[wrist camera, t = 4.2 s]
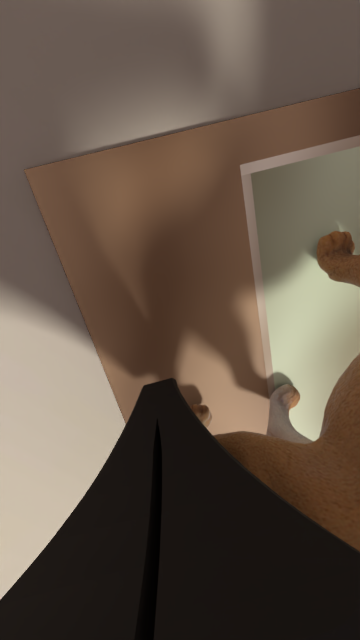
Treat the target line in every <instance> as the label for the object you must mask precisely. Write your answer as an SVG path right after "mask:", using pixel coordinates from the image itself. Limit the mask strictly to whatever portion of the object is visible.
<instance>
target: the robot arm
mask: <svg viewBox="0 0 360 640" xmlns="http://www.w3.org/2000/svg"><path fill="white" fill-rule="evenodd" d="M0 640H360V552H359V551H358V550H357V549H355V548H354V547H352V546H351V545H349V544H348V543H346V542H345V541H343V540H341V539H340V538H338V537H337V536H335V535H334V534H332V533H331V532H329V531H328V530H327V529H325V528H324V527H322V526H321V525H319V524H318V523H316V522H315V521H314V520H312V519H311V518H309V517H308V516H306V515H305V514H304V513H302V512H301V511H300V510H298V509H297V508H296V507H294V506H293V505H291V504H290V503H289V502H287V501H286V500H285V499H283V498H282V497H281V496H279V495H278V494H277V493H276V492H275V491H273V490H272V489H271V488H270V487H268V486H267V485H266V484H265V483H264V482H262V481H261V480H260V479H259V478H257V477H256V476H255V475H254V474H253V473H251V472H250V471H249V470H248V469H247V468H245V467H244V466H243V465H242V464H241V463H240V462H239V461H238V460H237V459H236V458H235V457H234V456H232V455H231V454H230V453H229V452H228V451H227V450H226V449H225V448H224V447H223V446H222V445H221V444H220V443H219V442H218V440H217V439H216V438H215V437H214V436H213V435H212V434H211V433H210V432H209V431H208V429H207V428H206V427H205V426H204V425H203V424H202V422H201V421H200V420H199V419H198V417H197V416H196V415H195V413H194V412H193V410H192V409H191V408H190V406H189V405H188V403H187V402H186V400H185V399H184V397H183V395H182V394H181V392H180V390H179V388H178V385H177V382H176V380H175V379H174V378H169V379H165V380H162V381H158V382H154V383H151V384H147V385H144V386H143V387H142V389H141V392H140V394H139V397H138V399H137V401H136V404H135V406H134V408H133V411H132V413H131V415H130V417H129V419H128V421H127V423H126V425H125V428H124V430H123V432H122V434H121V436H120V438H119V439H118V441H117V443H116V445H115V447H114V448H113V450H112V452H111V454H110V456H109V457H108V459H107V461H106V463H105V464H104V466H103V468H102V469H101V471H100V472H99V474H98V476H97V477H96V479H95V480H94V482H93V483H92V485H91V486H90V488H89V489H88V491H87V492H86V494H85V495H84V497H83V498H82V500H81V501H80V502H79V504H78V505H77V507H76V508H75V509H74V511H73V512H72V513H71V515H70V516H69V517H68V519H67V520H66V521H65V523H64V524H63V525H62V527H61V528H60V529H59V531H58V532H57V533H56V535H55V536H54V537H53V538H52V540H51V541H50V542H49V543H48V545H47V546H46V547H45V548H44V550H43V551H42V552H41V553H40V554H39V556H38V557H37V558H36V559H35V560H34V562H33V563H32V564H31V565H30V566H29V568H28V569H27V570H26V571H25V572H24V573H23V575H22V576H21V577H20V578H19V579H18V580H17V582H16V583H15V584H14V585H13V586H12V587H11V588H10V590H9V591H8V592H7V593H6V594H5V595H4V596H3V598H2V599H1V600H0Z"/></svg>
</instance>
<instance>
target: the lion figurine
mask: <svg viewBox="0 0 360 640" xmlns="http://www.w3.org/2000/svg"><path fill="white" fill-rule="evenodd" d="M354 249H355V244H354V242H353V241H352V236H351V234H350V233H349V232H346V231H344V232H339V231H333V232H331V233H330V234H328V235H325V236H323V237H321V238H320V239H319V241H318V245H317V252H316V253H317V262H318V265H319V267H320V268H321V269H322V270H323V271H324V272H326V273H327V274H328V276H329V278H330V279H331V280H333V281H337V282H344V283H348V284H352V285H355V286H358V287H360V255H353V252H354ZM299 400H300V393H299V392H298V390H297V389H296V388H295V387H294V386H292V385H290V384H285V385H282V386H280V387H279V388H277V389H276V390H275V391H274V392H273V393H272V395H271V397H270V408H269V419H268V427H267V432H266V435H264V434H260V433H255V432H248V431H237V432H230V433H225V434H216V435H213V436H214V437H215V438H216V439H217V440H218V442H219V443H220V444H221V445H222V446H223V447H224V448H225V449H226V450H227V451H228V452H229V453H230V454H231V455H232V456H234V457H235V458H236V459H237V460H238V461H239V462H240V463H241V464H242V465H243V466H244V467H245V468H247V469H248V470H249V471H250V472H251V473H253V474H254V475H255V476H256V477H257V478H259V479H260V480H261V481H262V482H264V483H265V484H266V485H267V486H268V487H270V488H271V489H272V490H273V491H275V492H276V493H277V494H278V495H279V496H281V497H282V498H283V499H285V500H286V501H287V502H289V503H290V504H291V505H293V506H294V507H296V508H297V509H298V510H300V511H301V512H302V513H304V514H305V515H306V516H308V517H309V518H311V519H312V520H314V521H315V522H316V523H318V524H319V525H321V526H322V527H324V528H325V529H327V530H328V531H329V532H331V533H332V534H334V535H335V536H337V537H338V538H340V539H341V540H343V541H345V542H346V543H348V544H349V545H351V546H352V547H354V548H355V549H357V550H358V551H359V552H360V354H359V355H358V356H357V357H356V358H355V359H354V360H353V361H352V362H351V363H350V365H349V366H348V367H347V369H346V370H345V371H344V373H343V374H342V375H341V376H340V378H339V379H338V381H337V383H336V384H335V386H334V388H333V390H332V392H331V395H330V397H329V399H328V401H327V404H326V407H325V411H324V418H323V422H322V427H321V432H320V435H319V438H318V439H317V440H316V441H312V440H310V439H308V438H307V437H305V436H303V435H302V434H300V433H299V432H297V431H296V430H295V428H294V427H293V426H292V424H291V422H290V419H289V411H290V409H291V408H293V407H295V406H296V405H297V404H298V402H299ZM190 408H191V409H192V410H193V412H194V413H195V415H196V416H197V417H198V419H199V420H200V421H201V422H202V424H203V425H204V426H205V427H206V428H208V426H209V425H210V423H211V421H212V415H211V413H210V410H209V408H208V407H207V406H206V405H200V404H194V405H191V406H190Z"/></svg>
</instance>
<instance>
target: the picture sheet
mask: <svg viewBox="0 0 360 640" xmlns="http://www.w3.org/2000/svg"><path fill="white" fill-rule="evenodd" d="M24 171H25V174H26V176H27V179H28V181H29V184H30V186H31V189H32V191H33V194H34V196H35V199H36V201H37V204H38V206H39V209H40V211H41V214H42V216H43V219H44V221H45V224H46V226H47V229H48V231H49V234H50V236H51V239H52V241H53V244H54V246H55V249H56V251H57V253H58V256H59V258H60V261H61V263H62V266H63V268H64V271H65V273H66V276H67V278H68V281H69V283H70V286H71V288H72V291H73V293H74V296H75V298H76V301H77V303H78V306H79V308H80V311H81V313H82V316H83V318H84V321H85V323H86V326H87V328H88V331H89V333H90V336H91V338H92V341H93V343H94V346H95V348H96V351H97V353H98V355H99V358H100V360H101V363H102V365H103V368H104V370H105V373H106V375H107V378H108V380H109V383H110V385H111V388H112V390H113V393H114V395H115V398H116V400H117V403H118V405H119V408H120V410H121V413H122V415H123V418H124V420H125V423H127V421H128V419H129V417H130V415H131V413H132V411H133V408H134V406H135V404H136V401H137V399H138V397H139V394H140V392H141V389H142V387H143V386H144V385H147V384H151V383H154V382H158V381H162V380H165V379H169V378H174V379H175V380H176V382H177V385H178V388H179V390H180V392H181V394H182V395H183V397H184V399H185V400H186V402H187V403H188V405H189V406H191V405H194V404H200V405H206V406H207V407H208V408H209V410H210V413H211V415H212V421H211V423H210V425H209V426H208V428H207V429H208V431H209V432H210V433H211V434H212V435H216V434H225V433H230V432H237V431H248V432H255V433H260V434H264V435H266V432H267V427H268V419H269V408H270V397H271V395H272V393H273V392H274V391H275V390H276V389H277V388H279V387H280V386H282V385H285V384H290V385H292V386H294V387H295V388H296V389H297V390H298V392H299V393H300V400H299V402H298V404H297V405H296V406H295V407H293V408H291V409H290V411H289V419H290V422H291V424H292V426H293V427H294V428H295V430H296V431H297V432H299V433H300V434H302V435H303V436H305V437H307V438H308V439H310V440H312V441H316V440H317V439H318V438H319V435H320V432H321V427H322V422H323V418H324V411H325V407H326V404H327V401H328V399H329V397H330V395H331V392H332V390H333V388H334V386H335V384H336V383H337V381H338V379H339V378H340V376H341V375H342V374H343V373H344V371H345V370H346V369H347V367H348V366H349V365H350V363H351V362H352V361H353V360H354V359H355V358H356V357H357V356H358V355H359V354H360V287H358V286H355V285H352V284H348V283H344V282H337V281H333V280H331V279H330V278H329V276H328V274H327V273H326V272H324V271H323V270H322V269H321V268H320V267H319V265H318V262H317V253H316V252H317V245H318V241H319V239H320V238H321V237H323V236H325V235H328V234H330V233H331V232H333V231H339V232H344V231H346V232H349V233H350V234H351V236H352V241H353V242H354V244H355V249H354V252H353V255H360V88H358V89H354V90H350V91H346V92H342V93H338V94H334V95H329V96H325V97H321V98H317V99H313V100H309V101H305V102H301V103H297V104H292V105H288V106H284V107H280V108H276V109H272V110H268V111H264V112H260V113H255V114H251V115H247V116H243V117H239V118H235V119H231V120H227V121H223V122H219V123H214V124H210V125H206V126H202V127H198V128H194V129H190V130H186V131H182V132H177V133H173V134H169V135H165V136H161V137H157V138H153V139H149V140H145V141H140V142H136V143H132V144H128V145H124V146H120V147H116V148H112V149H108V150H103V151H99V152H95V153H91V154H87V155H83V156H79V157H75V158H71V159H66V160H62V161H58V162H54V163H50V164H46V165H42V166H38V167H34V168H29V169H25V170H24Z"/></svg>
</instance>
